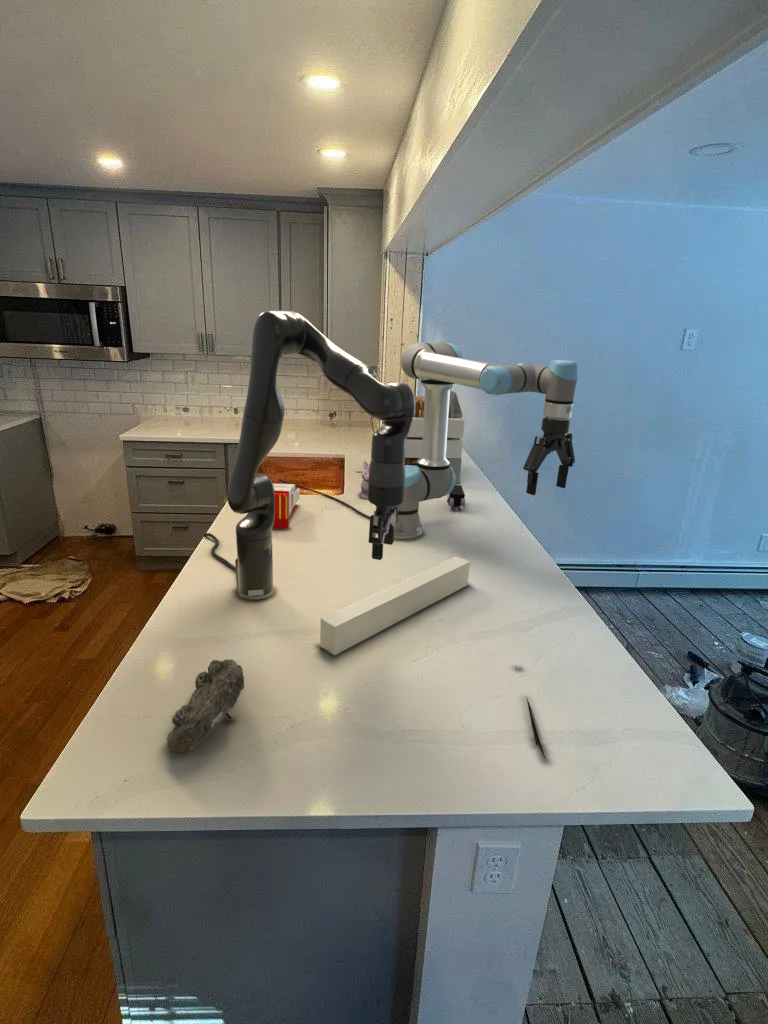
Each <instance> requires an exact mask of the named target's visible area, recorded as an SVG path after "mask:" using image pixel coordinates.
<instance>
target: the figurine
mask: <svg viewBox="0 0 768 1024" xmlns="http://www.w3.org/2000/svg"><path fill="white" fill-rule="evenodd" d="M362 464H363V470H362V472H361V478H362V481H361V483H360V490H361V491H360V496H361V498H362V499H368V486H369V468H370V463H369V464H368V462H367V461H366V460H364V461H363V463H362Z"/></svg>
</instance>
